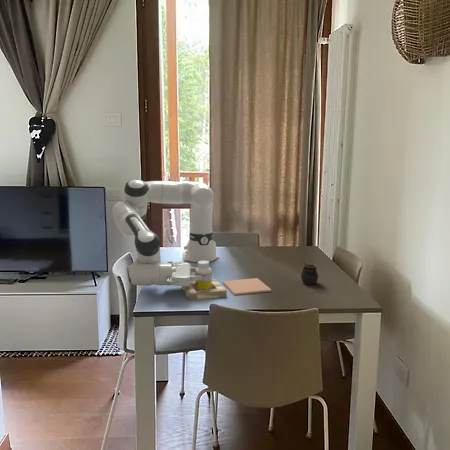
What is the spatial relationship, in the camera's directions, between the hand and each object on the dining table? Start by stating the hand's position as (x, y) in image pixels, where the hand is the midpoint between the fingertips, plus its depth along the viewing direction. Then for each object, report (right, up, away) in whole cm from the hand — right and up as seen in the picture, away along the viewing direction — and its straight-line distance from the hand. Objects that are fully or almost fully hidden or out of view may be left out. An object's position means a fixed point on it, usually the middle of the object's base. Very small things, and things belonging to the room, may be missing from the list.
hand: (202, 273), depth 191 cm
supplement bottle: (+1, -8, +2) cm, 8 cm away
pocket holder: (+1, -8, +2) cm, 8 cm away
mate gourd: (+46, -6, +14) cm, 48 cm away
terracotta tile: (+18, -6, +8) cm, 21 cm away
